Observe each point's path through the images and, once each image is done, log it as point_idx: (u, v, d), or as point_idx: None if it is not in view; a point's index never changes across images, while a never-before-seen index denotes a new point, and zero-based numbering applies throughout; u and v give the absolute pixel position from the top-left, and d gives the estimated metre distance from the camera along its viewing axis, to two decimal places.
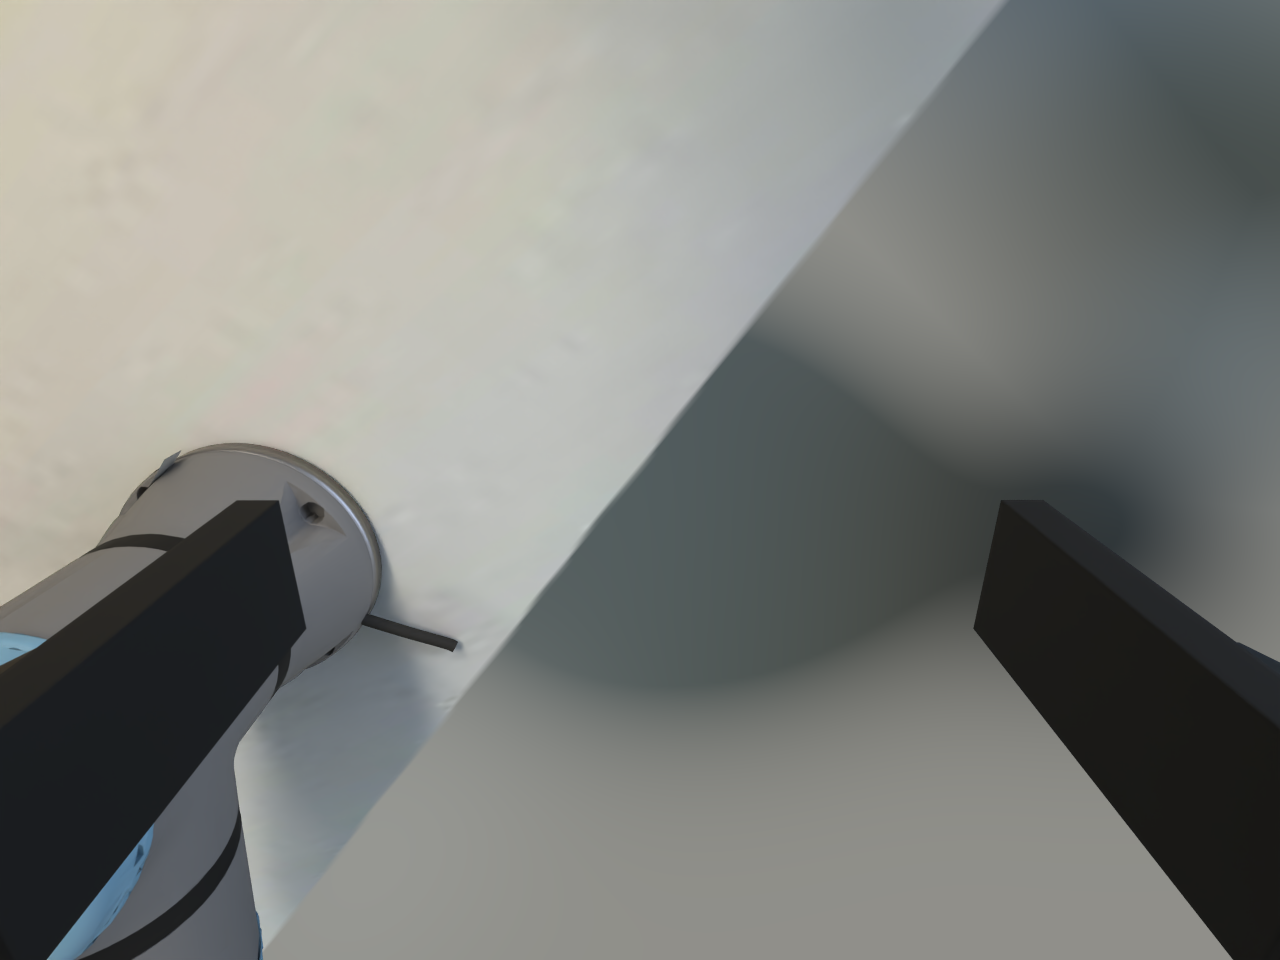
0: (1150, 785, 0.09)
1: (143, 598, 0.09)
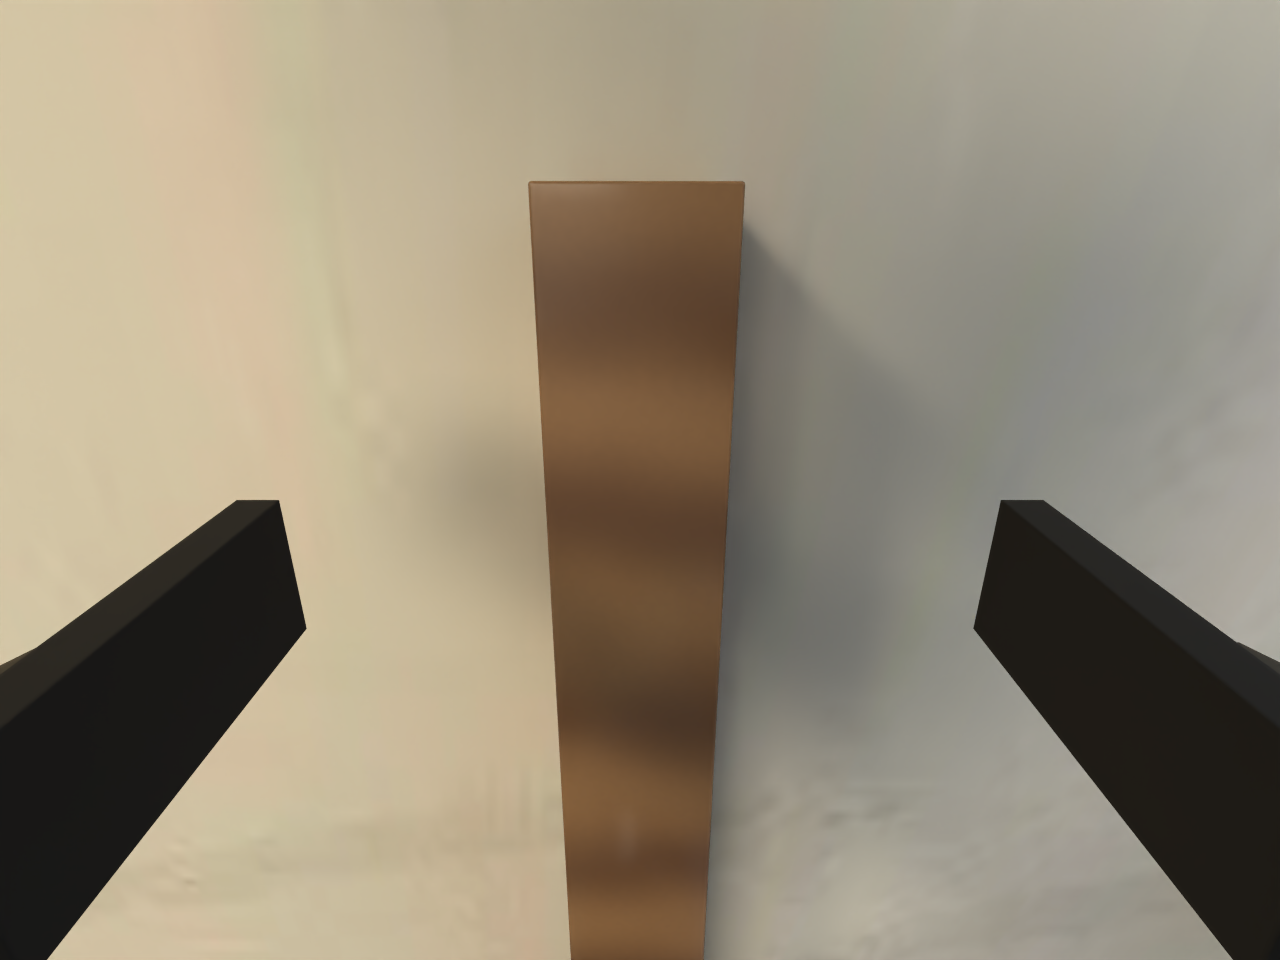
0: (1151, 785, 0.09)
1: (143, 598, 0.09)
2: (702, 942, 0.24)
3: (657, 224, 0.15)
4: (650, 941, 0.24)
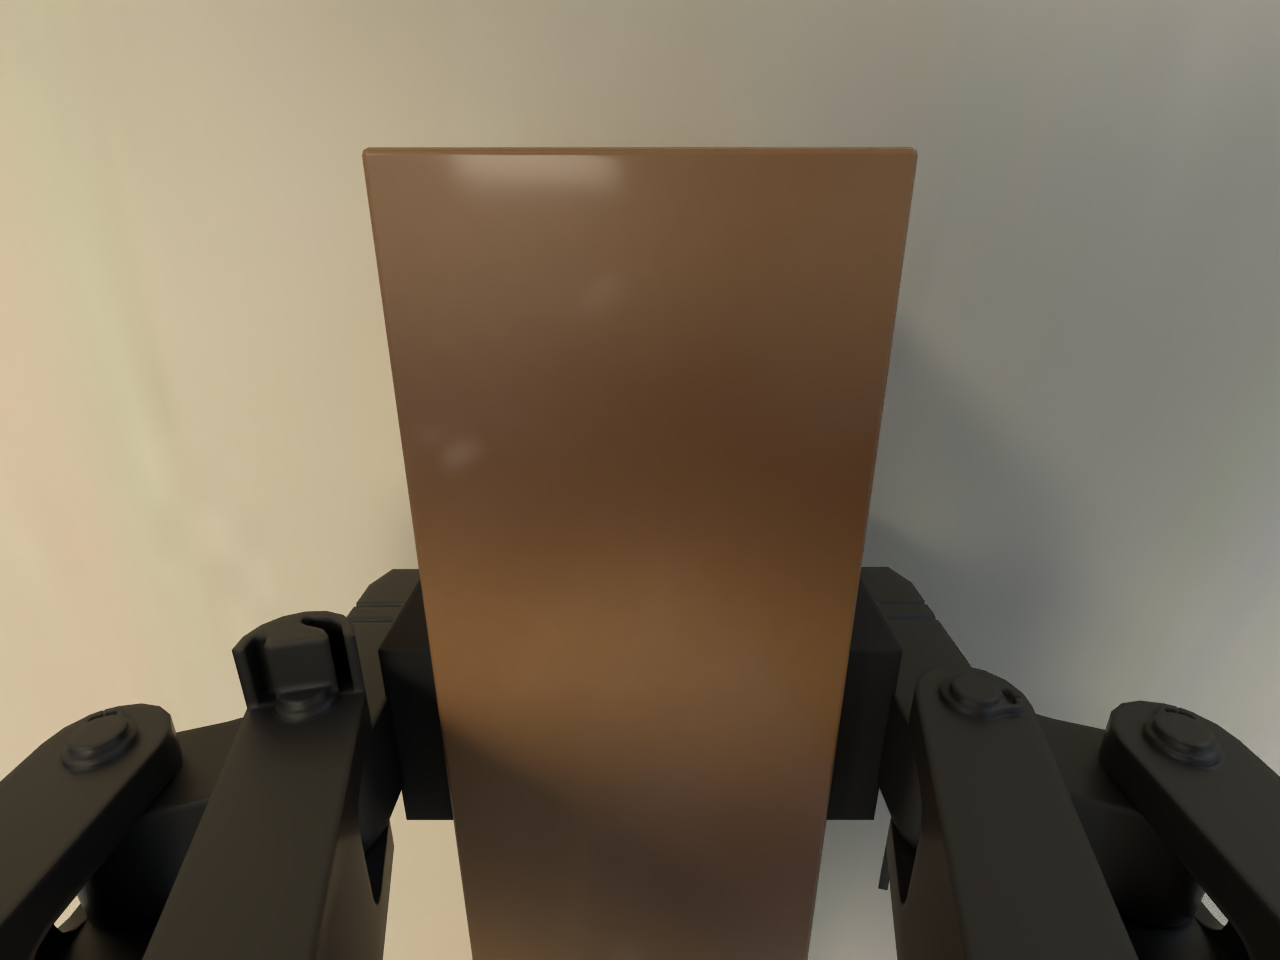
0: None
1: None
2: None
3: (690, 255, 0.06)
4: None
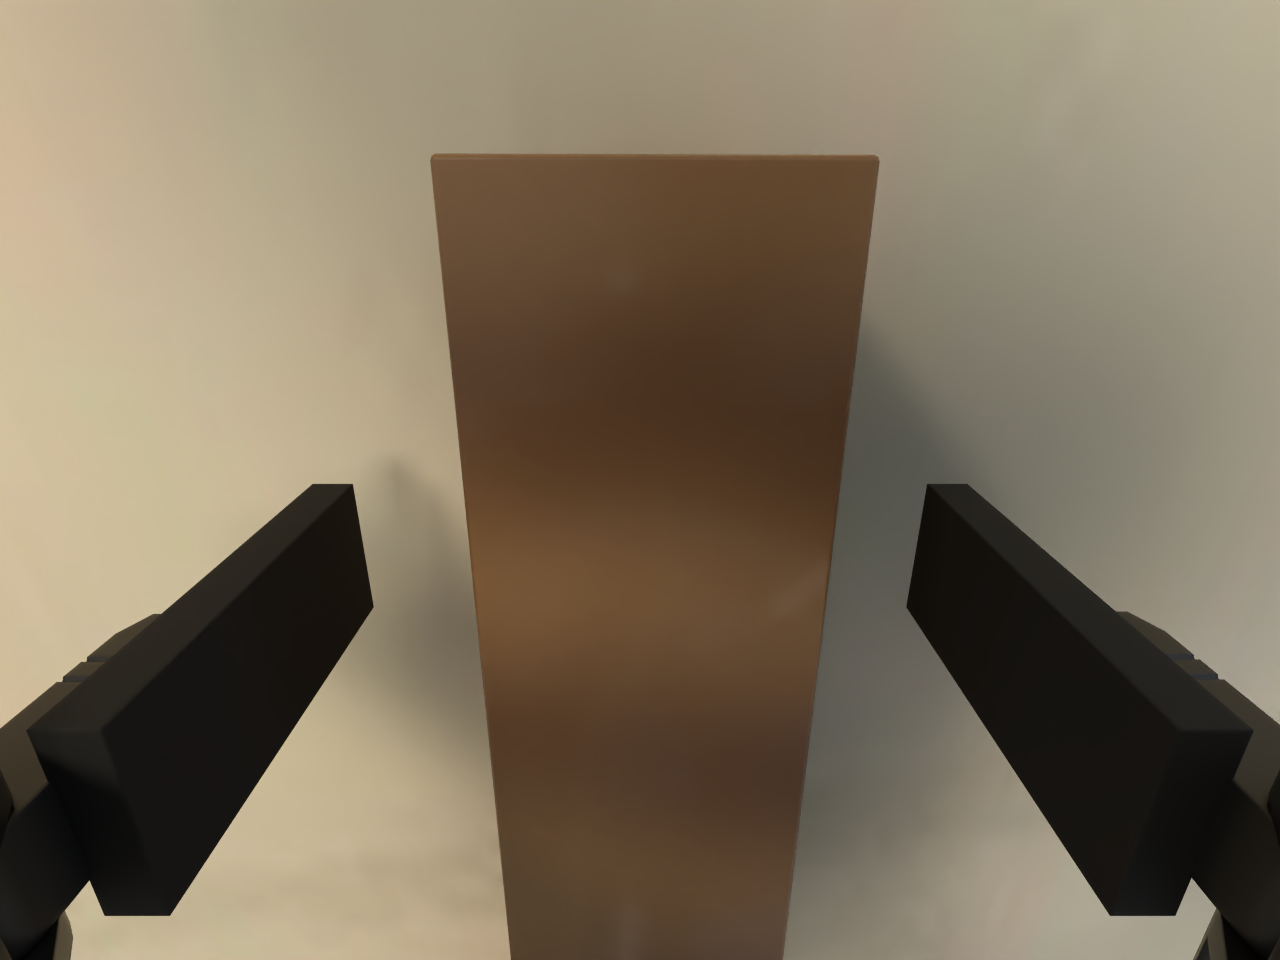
0: (1037, 741, 0.09)
1: (249, 570, 0.10)
2: None
3: (695, 242, 0.07)
4: None
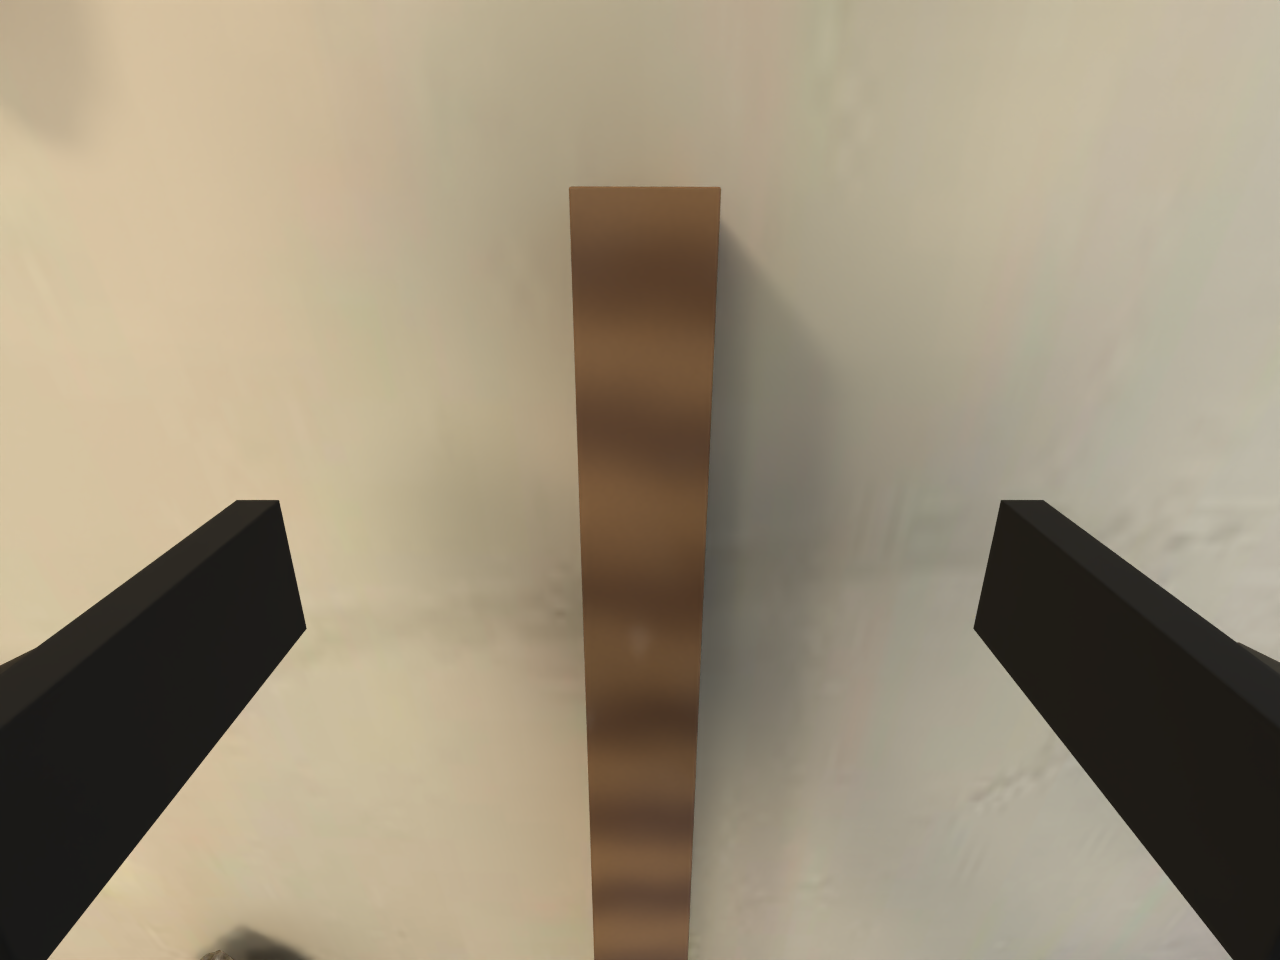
0: (1151, 785, 0.09)
1: (143, 598, 0.09)
2: (693, 787, 0.30)
3: (659, 216, 0.22)
4: (652, 786, 0.30)
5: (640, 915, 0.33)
